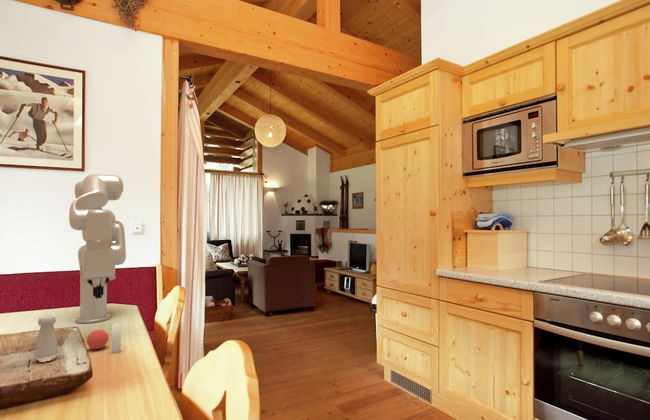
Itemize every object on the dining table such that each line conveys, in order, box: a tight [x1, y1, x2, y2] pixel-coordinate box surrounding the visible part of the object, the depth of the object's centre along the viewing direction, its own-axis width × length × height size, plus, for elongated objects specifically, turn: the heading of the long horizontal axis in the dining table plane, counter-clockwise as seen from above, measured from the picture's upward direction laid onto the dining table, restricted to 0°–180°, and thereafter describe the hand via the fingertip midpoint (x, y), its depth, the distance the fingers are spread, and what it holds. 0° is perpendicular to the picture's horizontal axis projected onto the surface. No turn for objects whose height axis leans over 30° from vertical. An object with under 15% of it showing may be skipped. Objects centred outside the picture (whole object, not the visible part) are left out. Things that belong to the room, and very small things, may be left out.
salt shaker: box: [34, 314, 59, 358], centre depth 112 cm, size 6×6×13 cm
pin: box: [111, 322, 122, 354], centre depth 119 cm, size 2×2×9 cm
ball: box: [86, 329, 109, 350], centre depth 122 cm, size 6×6×6 cm
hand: (98, 297), depth 131 cm, fingers closed
